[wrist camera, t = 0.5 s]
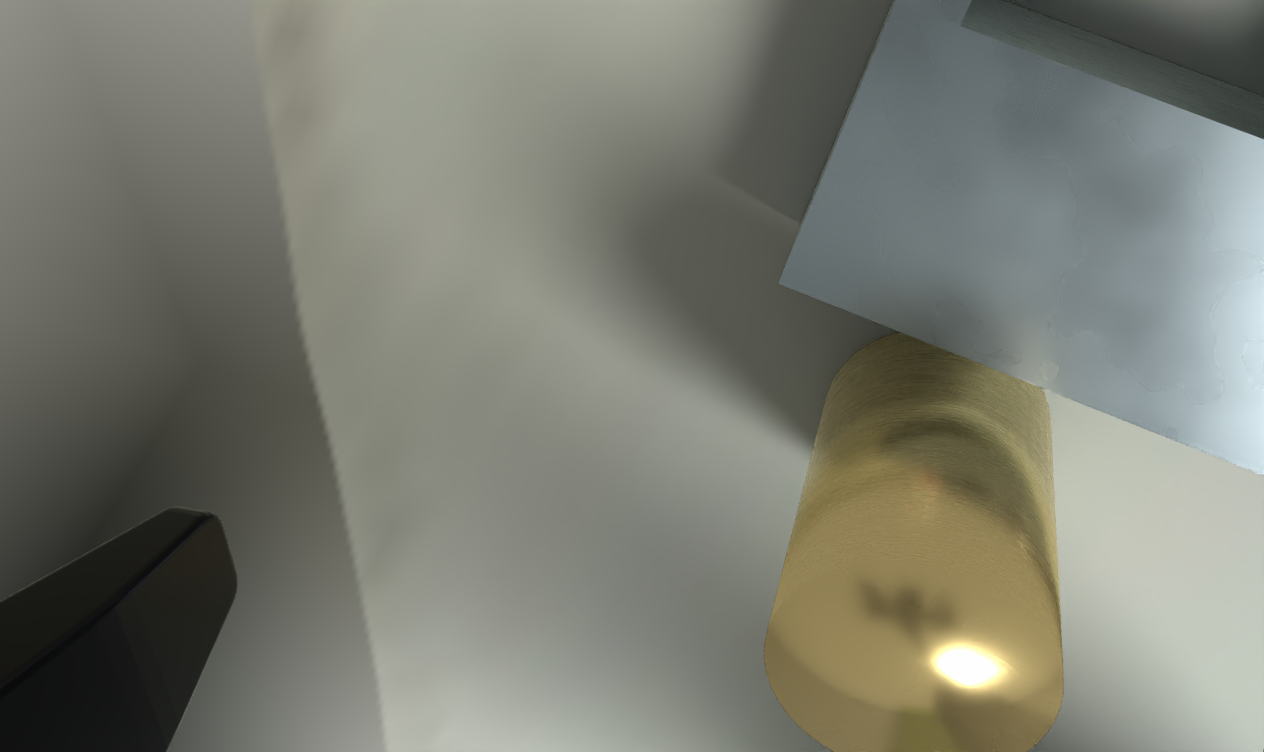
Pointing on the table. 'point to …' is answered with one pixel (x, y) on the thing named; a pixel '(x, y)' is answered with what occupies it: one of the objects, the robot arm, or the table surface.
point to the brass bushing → (922, 562)
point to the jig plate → (1053, 217)
